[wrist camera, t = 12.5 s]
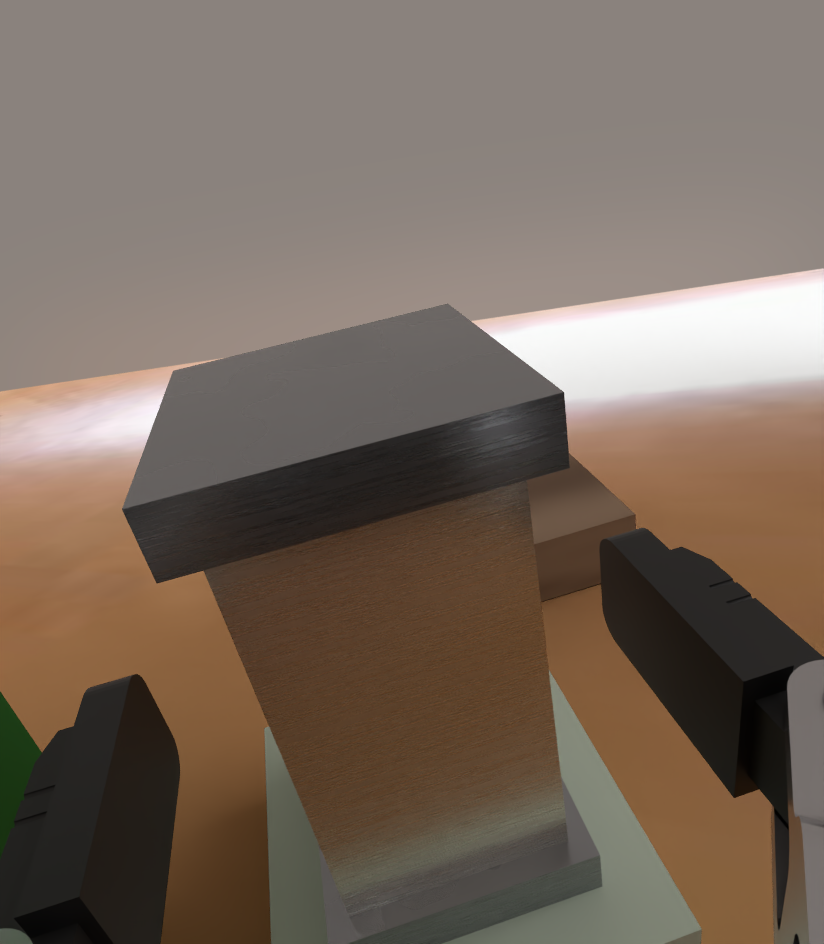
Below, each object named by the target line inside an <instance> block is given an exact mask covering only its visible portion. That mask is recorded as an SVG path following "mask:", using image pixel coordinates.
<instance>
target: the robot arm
mask: <svg viewBox="0 0 824 944" xmlns="http://www.w3.org/2000/svg"><path fill="white" fill-rule="evenodd" d="M599 553H600V571H601V589H602V606H603V613H604V617H605V620H606V623H607V626H608V628H609V631H610V633H611V635H612V637H613V638H614V640H615V642H616V643H617V644H618V646H619V647H620V648H621V650H622V651H623V652H624V654H625V655H626V656H627V657H628V659H629V660H630V661H631V663H632V664H633V665H634V667H635V668H636V669H637V671H638V672H639V673H640V675H641V676H642V677H643V679H644V680H645V681H646V683H647V684H648V685H649V686H650V688H651V689H652V690H653V692H654V693H655V694H656V696H657V697H658V698H659V700H660V701H661V702H662V704H663V705H664V706H665V708H666V709H667V710H668V712H669V713H670V714H671V716H672V717H673V718H674V719H675V721H676V722H677V723H678V725H679V726H680V727H681V729H682V730H683V731H684V733H685V734H686V735H687V737H688V738H689V739H690V741H691V742H692V743H693V745H694V746H695V747H696V748H697V750H698V751H699V752H700V754H701V755H702V756H703V758H704V759H705V760H706V762H707V763H708V764H709V766H710V767H711V768H712V770H713V771H714V772H715V774H716V775H717V776H718V777H719V779H720V780H721V781H722V783H723V784H724V785H725V787H726V788H727V789H728V791H729V792H730V793H731V795H732V796H733V797H734V798H736V797H738V796H741V795H744V794H747V793H750V792H753V791H756V790H758V789H760V790H761V792H762V793H763V794H764V795H765V797H766V798H767V799H768V800H769V801H770V803H771V804H772V812H771V840H772V882H773V925H774V944H824V657H823V656H822V655H820V654H819V653H818V652H817V651H816V650H815V649H813V648H812V647H811V646H810V645H809V644H808V643H807V642H805V641H804V640H803V639H802V638H801V637H800V636H798V635H797V634H796V633H795V632H794V631H793V630H792V629H790V628H789V627H788V626H787V625H786V624H785V623H783V622H782V621H781V620H780V619H779V618H778V617H777V616H775V615H774V614H773V613H772V612H771V611H770V610H768V609H767V608H766V607H765V606H764V605H763V604H762V603H760V602H759V601H758V600H757V599H756V598H754V599H753V598H752V597H751V594H750V593H749V592H748V591H747V590H745V589H744V588H743V587H742V586H741V585H740V584H738V583H737V582H736V583H734V581H733V578H732V577H730V576H729V575H728V574H727V573H726V572H725V571H723V570H722V569H721V568H720V567H719V566H718V565H717V564H715V563H714V562H713V561H712V560H711V559H708V558H706V557H704V556H701V555H699V554H697V553H695V552H692V551H690V550H688V549H685V548H683V547H679V548H676V549H672V550H669V549H668V548H667V547H666V546H665V545H664V544H663V543H662V542H661V541H660V540H659V539H658V538H656V537H655V536H654V535H653V534H652V533H651V532H650V531H649V530H647V529H645V528H639V529H636V530H633V531H629V532H626V533H622V534H619V535H615V536H612V537H609V538H605V539H603V540H602V541H601V542H600V547H599ZM179 779H180V763H179V755H178V750H177V746H176V743H175V740H174V738H173V735H172V733H171V731H170V729H169V727H168V726H167V724H166V722H165V720H164V718H163V716H162V714H161V712H160V710H159V708H158V706H157V704H156V702H155V700H154V698H153V696H152V694H151V693H150V691H149V689H148V687H147V685H146V683H145V681H144V680H143V678H142V677H141V676H140V675H138V674H135V675H131V676H128V677H124V678H121V679H118V680H114V681H111V682H107V683H104V684H100V685H97V686H94V687H90V688H88V689H87V690H86V692H85V693H84V696H83V698H82V702H81V705H80V708H79V711H78V714H77V718H76V721H75V724H74V726H73V727H70V728H66V729H63V730H60V731H58V732H57V734H56V735H55V736H54V738H53V739H52V740H51V742H50V743H49V744H48V746H47V747H46V748H45V750H44V751H43V752H42V754H41V755H40V756H39V758H38V759H37V760H36V762H35V764H34V766H33V769H32V772H31V775H30V777H29V780H28V783H27V786H26V789H25V791H24V794H23V795H24V800H22V801H21V802H20V805H19V808H18V811H17V814H16V816H15V819H14V824H15V826H14V828H11V830H10V833H9V836H8V839H7V841H6V844H5V847H4V850H3V853H2V855H1V858H0V944H160V942H161V934H162V925H163V917H164V908H165V899H166V891H167V882H168V873H169V865H170V856H171V848H172V839H173V830H174V822H175V813H176V804H177V796H178V787H179Z"/></svg>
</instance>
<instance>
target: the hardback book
mask: <svg viewBox="0 0 824 944" xmlns="http://www.w3.org/2000/svg"><path fill="white" fill-rule="evenodd" d="M41 754H42V752H41V751H40V749H39V748H38V746H37V745H36V743H35V742H34V740H33V739H32V737H31V736H30V735H29V733H28V732H27V730H26V729H25V727H24V726H23V724H22V723H21V721H20V720H19V718H18V717H17V715H16V714H15V713H14V711H13V710H12V708H11V707H10V705H9V704H8V702H7V701H6V699H5V698H4V696H3V695H2V693H1V692H0V858H1V855H2V853H3V850H4V847H5V844H6V841H7V839H8V836H9V833H10V830H11V828H14V826H15V824H14V819H15V816H16V814H17V811H18V808H19V805H20V802H21V801H22V800H24V795H23V794H24V791H25V789H26V786H27V783H28V780H29V777H30V775H31V772H32V769H33V766H34V764H35V762H36V760H37V759H38V758H39V756H40V755H41Z"/></svg>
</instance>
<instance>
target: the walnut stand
mask: <svg viewBox="0 0 824 944" xmlns="http://www.w3.org/2000/svg"><path fill="white" fill-rule="evenodd" d="M569 464H570V468H569V469H565V470H561V471H558V472H554V473H551V474H547V475H543V476H540V477H536V478H533V479H529V480H527V486H528V495H529V503H530V512H531V521H532V529H533V538H534V547H535V555H536V564H537V573H538V581H539V590H540V599H541V602H542V601H545V600H548V599H552V598H555V597H558V596H561V595H565V594H568V593H571V592H574V591H578V590H581V589H584V588H587V587H591V586H594V585H597V584H600V583H601V571H600V553H599V547H600V542H601V541H602V540H603V539H605V538H609V537H612V536H615V535H619V534H622V533H626V532H629V531H633V530H636V521H635V514H634V513H633V512H632V511H631V510H630V509H629V508H628V507H627V506H626V505H625V504H624V503H623V502H621V501H620V500H619V499H618V498H617V497H616V496H615V495H614V494H613V493H612V492H611V491H609V490H608V489H607V488H606V487H605V486H604V485H603V484H602V483H601V482H600V481H599V480H598V479H596V478H595V477H594V476H593V475H592V474H591V473H590V472H589V471H588V470H587V469H586V468H584V467H583V466H582V465H581V464H580V463H579V462H578V461H577V460H576V459H575V458H574V457H573V456H571V455H570V454H569Z"/></svg>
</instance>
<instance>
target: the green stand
mask: <svg viewBox="0 0 824 944" xmlns="http://www.w3.org/2000/svg"><path fill="white" fill-rule="evenodd" d="M549 677H550V685H551V694H552V703H553V711H554V720H555V729H556V737H557V746H558V755H559V763H560V772H561V777H562V779H563V781H564V783H565V785H566V787H567V789H568V791H569V793H570V795H571V797H572V799H573V801H574V803H575V805H576V807H577V809H578V811H579V814H580V816H581V818H582V820H583V822H584V824H585V826H586V828H587V830H588V832H589V834H590V836H591V838H592V840H593V842H594V844H595V846H596V848H597V850H598V852H599V854H600V860H601V873H602V887H600V888H597V889H594V890H591V891H588V892H586V893H583V894H580V895H577V896H574V897H571V898H569V899H566V900H563V901H560V902H557V903H555V904H552V905H549V906H546V907H543V908H541V909H538V910H535V911H532V912H529V913H527V914H524V915H521V916H518V917H515V918H513V919H510V920H507V921H504V922H501V923H499V924H496V925H493V926H490V927H487V928H485V929H482V930H479V931H476V932H473V933H471V934H468V935H465V936H462V937H459V938H456V939H454V940H451V941H448V942H445V943H442V944H701V934H702V929H701V927H700V925H699V924H698V922H697V920H696V919H695V917H694V915H693V914H692V912H691V910H690V908H689V907H688V905H687V903H686V902H685V900H684V898H683V897H682V895H681V893H680V891H679V890H678V888H677V886H676V885H675V883H674V881H673V880H672V878H671V876H670V874H669V873H668V871H667V869H666V868H665V866H664V864H663V863H662V861H661V859H660V858H659V856H658V854H657V852H656V851H655V849H654V847H653V846H652V844H651V842H650V841H649V839H648V837H647V835H646V834H645V832H644V830H643V829H642V827H641V825H640V824H639V822H638V820H637V818H636V817H635V815H634V813H633V812H632V810H631V808H630V807H629V805H628V803H627V802H626V800H625V798H624V796H623V795H622V793H621V791H620V790H619V788H618V786H617V785H616V783H615V781H614V779H613V778H612V776H611V774H610V773H609V771H608V769H607V768H606V766H605V764H604V762H603V761H602V759H601V757H600V756H599V754H598V752H597V751H596V749H595V747H594V746H593V744H592V742H591V740H590V739H589V737H588V735H587V734H586V732H585V730H584V729H583V727H582V725H581V723H580V722H579V720H578V718H577V717H576V715H575V713H574V712H573V710H572V708H571V706H570V705H569V703H568V701H567V700H566V698H565V696H564V695H563V693H562V691H561V690H560V688H559V686H558V684H557V683H556V681H555V679H554V678H553V676H552V674H551V673H550V671H549ZM264 730H265V762H266V794H267V826H268V858H269V889H270V921H271V944H328V937H327V927H326V916H325V906H324V895H323V885H322V874H321V864H320V853H319V844H318V841H317V839H316V837H315V834H314V832H313V830H312V827H311V825H310V822H309V820H308V818H307V815H306V813H305V810H304V808H303V806H302V803H301V801H300V799H299V796H298V794H297V791H296V789H295V787H294V784H293V782H292V780H291V777H290V775H289V772H288V770H287V768H286V765H285V763H284V761H283V758H282V756H281V753H280V751H279V749H278V746H277V744H276V742H275V739H274V737H273V734H272V732H271V730H270V727H266V728H264Z"/></svg>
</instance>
